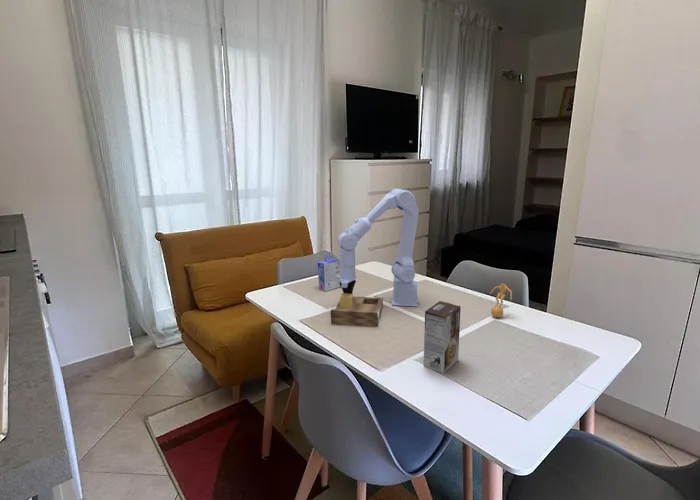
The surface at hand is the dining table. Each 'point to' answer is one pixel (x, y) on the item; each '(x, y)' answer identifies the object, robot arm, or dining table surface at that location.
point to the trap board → (358, 312)
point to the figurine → (497, 310)
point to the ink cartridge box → (329, 273)
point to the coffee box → (441, 336)
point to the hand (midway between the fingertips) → (348, 299)
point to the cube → (346, 300)
